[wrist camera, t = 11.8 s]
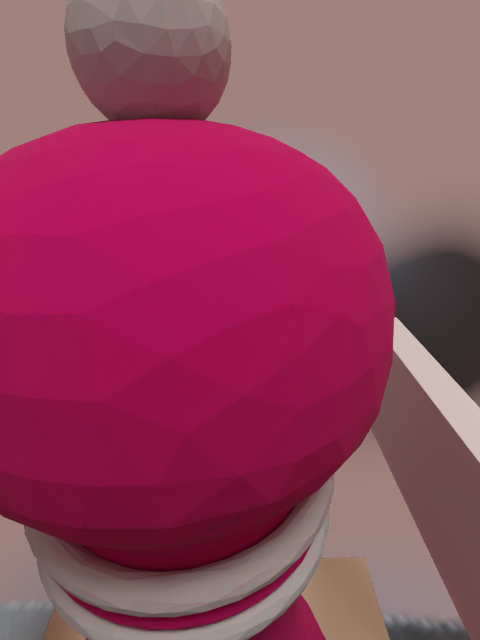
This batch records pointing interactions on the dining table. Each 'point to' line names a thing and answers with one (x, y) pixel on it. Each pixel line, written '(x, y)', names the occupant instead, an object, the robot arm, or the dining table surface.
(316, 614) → the birch block
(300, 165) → the pepper mill
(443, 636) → the dining table surface
